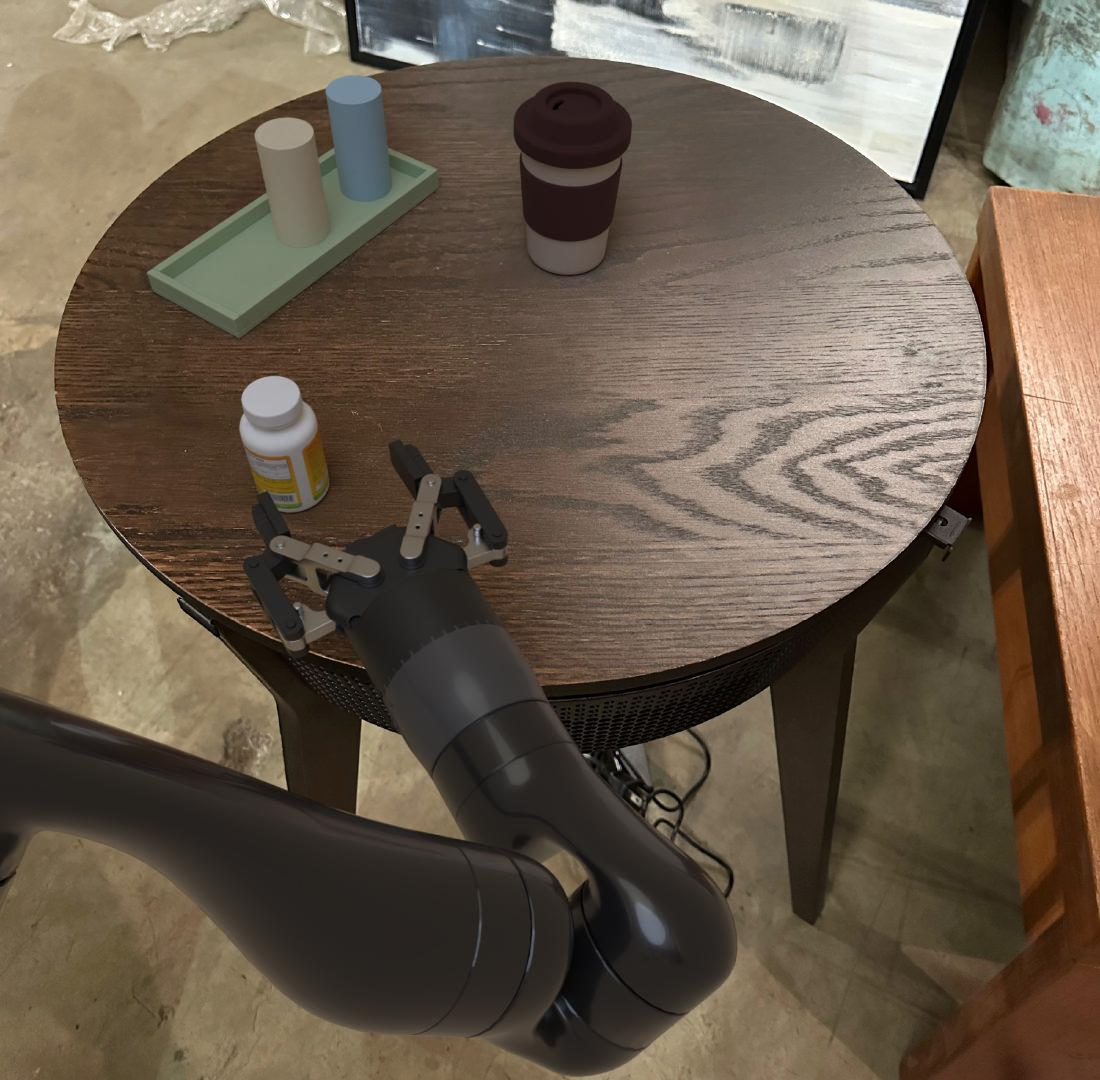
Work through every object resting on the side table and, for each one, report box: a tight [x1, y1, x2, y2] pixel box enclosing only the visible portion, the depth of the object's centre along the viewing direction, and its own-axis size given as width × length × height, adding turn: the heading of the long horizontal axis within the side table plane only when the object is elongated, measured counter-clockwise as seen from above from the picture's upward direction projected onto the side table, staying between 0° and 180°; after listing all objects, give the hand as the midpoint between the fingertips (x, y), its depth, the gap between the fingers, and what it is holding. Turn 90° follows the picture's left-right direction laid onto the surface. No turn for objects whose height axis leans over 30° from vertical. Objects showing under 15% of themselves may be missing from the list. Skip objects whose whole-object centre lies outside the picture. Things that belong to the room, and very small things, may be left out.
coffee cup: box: [513, 81, 633, 276], centre depth 90 cm, size 10×10×15 cm
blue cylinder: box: [325, 74, 392, 202], centre depth 97 cm, size 5×5×10 cm
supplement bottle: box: [238, 375, 330, 514], centre depth 74 cm, size 5×5×10 cm
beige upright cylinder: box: [254, 117, 330, 248], centre depth 92 cm, size 5×5×10 cm
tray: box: [146, 147, 440, 339], centre depth 96 cm, size 28×11×2 cm, turn 146°
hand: (330, 475), depth 63 cm, fingers open, 8 cm apart
